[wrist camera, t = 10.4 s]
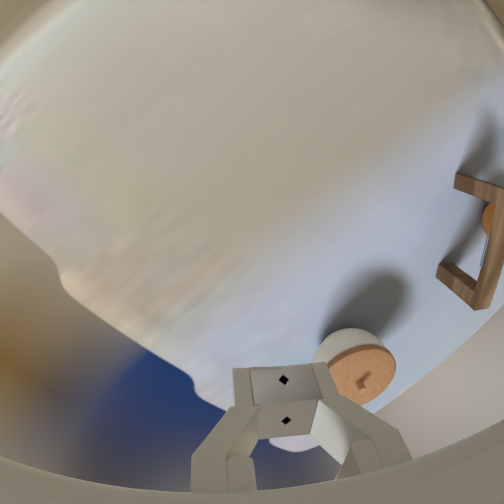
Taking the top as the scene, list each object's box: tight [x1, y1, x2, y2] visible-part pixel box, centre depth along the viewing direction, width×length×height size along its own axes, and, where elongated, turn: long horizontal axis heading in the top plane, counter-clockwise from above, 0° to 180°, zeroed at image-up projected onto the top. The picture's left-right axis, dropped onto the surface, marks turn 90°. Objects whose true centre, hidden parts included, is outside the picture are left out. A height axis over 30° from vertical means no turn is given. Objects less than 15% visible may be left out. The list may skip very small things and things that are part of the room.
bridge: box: [436, 174, 504, 311], centre depth 34 cm, size 3×15×10 cm, turn 178°
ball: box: [482, 203, 495, 237], centre depth 35 cm, size 6×6×6 cm
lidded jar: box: [313, 328, 396, 406], centre depth 39 cm, size 11×11×9 cm
